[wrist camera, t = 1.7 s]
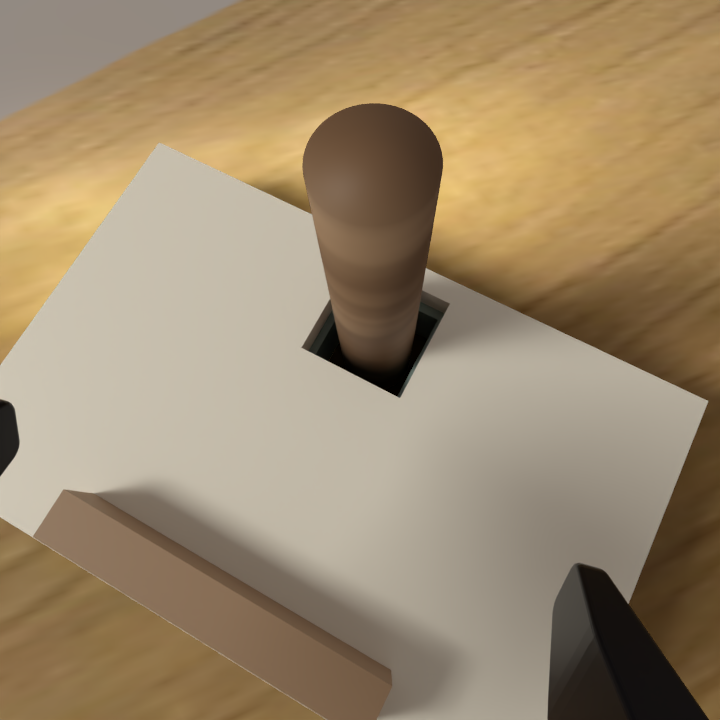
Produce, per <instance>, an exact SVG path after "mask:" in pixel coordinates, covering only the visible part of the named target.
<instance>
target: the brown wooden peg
mask: <svg viewBox="0 0 720 720" xmlns="http://www.w3.org/2000/svg"><path fill="white" fill-rule="evenodd" d="M442 169H443V158H442V151H441V148H440V145H439V142H438V140H437V138H436V136H435V135H434V133H433V132H432V130H431V129H430V128H429V127H428V126H427V125H426V123H424V122H423V121H422V120H421V119H420V118H418V117H417V116H415V115H414V114H412V113H410V112H408V111H406V110H404V109H402V108H399V107H396V106H392V105H387V104H361V105H356V106H352V107H349V108H346V109H343V110H341V111H339V112H337V113H335V114H334V115H332V116H330V117H329V118H328V119H326V120H325V121H324V122H323V123H322V124H321V125H320V126H319V127H318V128H317V129H316V130H315V132H314V133H313V134H312V136H311V137H310V139H309V141H308V143H307V146H306V148H305V152H304V156H303V175H304V180H305V184H306V189H307V194H308V198H309V203H310V208H311V212H312V217H313V221H314V226H315V231H316V235H317V240H318V244H319V249H320V254H321V258H322V263H323V268H324V272H325V277H326V281H327V286H328V291H329V295H330V300H331V304H332V309H333V314H334V318H335V323H336V328H337V332H338V337H339V341H340V346H341V351H342V355H343V360H344V364H345V368H346V371H348V372H350V373H352V374H354V375H356V376H358V377H360V378H362V379H364V380H365V381H367V382H369V383H371V384H373V385H375V386H377V387H379V388H381V389H387V388H390V387H392V386H394V385H396V384H397V383H398V382H399V381H401V380H402V378H403V377H404V376H405V374H406V373H407V370H408V368H409V364H410V358H411V352H412V347H413V341H414V335H415V329H416V323H417V317H418V311H419V305H420V300H421V294H422V288H423V282H424V276H425V270H426V264H427V258H428V253H429V247H430V241H431V235H432V229H433V223H434V217H435V211H436V206H437V200H438V194H439V188H440V182H441V176H442Z"/></svg>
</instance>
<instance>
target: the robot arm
mask: <svg viewBox="0 0 720 720" xmlns="http://www.w3.org/2000/svg"><path fill="white" fill-rule="evenodd" d="M19 445H20V439H19V432H18V426H17V419H16V412H15V408H14V406H13V405H12V403H10V402H9V401H6V400H2V399H0V476H1V475H2V474H3V472H4V471H5V470H6V468H7V467H8V466H9V464H10V463H11V462H12V460H13V459H14V458H15V456H16V454H17V452H18V449H19ZM547 720H709V719H708V718H707V716H706V715H705V713H704V712H703V710H702V709H701V708H700V706H699V705H698V703H697V702H696V700H695V699H694V697H693V696H692V695H691V693H690V692H689V690H688V689H687V687H686V686H685V685H684V683H683V682H682V680H681V679H680V677H679V676H678V674H677V673H676V672H675V670H674V669H673V667H672V666H671V664H670V663H669V661H668V660H667V659H666V657H665V656H664V654H663V653H662V651H661V650H660V649H659V647H658V646H657V644H656V643H655V641H654V640H653V638H652V637H651V636H650V634H649V633H648V631H647V630H646V628H645V627H644V626H643V624H642V623H641V621H640V620H639V618H638V617H637V615H636V614H635V613H634V611H633V610H632V608H631V607H630V605H629V604H628V602H627V601H626V600H625V598H624V597H623V595H622V594H621V592H620V591H619V590H618V588H617V587H616V585H615V584H614V582H613V581H612V579H611V578H610V577H609V575H608V574H607V573H606V572H605V571H604V570H603V569H600V568H597V567H594V566H590V565H587V564H583V563H575V564H574V565H573V566H572V567H571V569H570V571H569V573H568V575H567V577H566V579H565V581H564V583H563V585H562V587H561V589H560V591H559V593H558V595H557V597H556V599H555V602H554V607H553V613H552V631H551V650H550V670H549V689H548V714H547Z"/></svg>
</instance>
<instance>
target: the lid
mask: <svg viewBox="0 0 720 720" xmlns="http://www.w3.org/2000/svg"><path fill="white" fill-rule="evenodd" d="M420 302H422V303H424V304H426V305H428V306H430V307H432V308H434V309H436V310H439V311H441V312H443V313H445V314H444V316H443V318H442V320H441V322H440V323H439V325H438V327H437V329H436V331H435V333H434V335H433V337H432V339H431V340H430V342H429V344H428V346H427V348H426V350H425V352H424V354H423V356H422V358H421V359H420V361H419V363H418V365H417V367H416V369H415V371H414V373H413V375H412V376H411V378H410V380H409V382H408V384H407V386H406V388H405V390H404V392H403V393H402V395H401V397H400V398H399V397H397V396H395V395H393V394H391V393H389V392H387V391H385V390H383V389H381V388H379V387H377V386H375V385H373V384H371V383H369V382H367V381H365V380H364V379H362V378H360V377H358V376H356V375H354V374H352V373H350V372H348V371H346V370H344V369H342V368H340V367H338V366H336V365H334V364H332V363H330V362H328V361H326V360H325V359H323V358H321V357H319V356H317V355H315V354H313V353H311V352H309V349H310V347H311V346H312V344H313V342H314V340H315V339H316V337H317V335H318V334H319V332H320V330H321V328H322V327H323V325H324V323H325V322H326V320H327V318H328V316H329V315H330V313H331V311H332V304H331V300H330V295H329V291H328V286H327V281H326V277H325V272H324V268H323V263H322V258H321V254H320V249H319V244H318V240H317V235H316V231H315V226H314V221H313V217H312V214H310V213H308V212H306V211H303V210H301V209H299V208H297V207H295V206H293V205H291V204H289V203H286V202H284V201H282V200H280V199H278V198H276V197H274V196H272V195H269V194H267V193H265V192H263V191H261V190H259V189H257V188H255V187H252V186H250V185H248V184H246V183H244V182H242V181H240V180H238V179H235V178H233V177H231V176H229V175H227V174H225V173H223V172H221V171H218V170H216V169H214V168H212V167H210V166H208V165H206V164H204V163H202V162H199V161H197V160H195V159H193V158H191V157H189V156H187V155H185V154H182V153H180V152H178V151H176V150H174V149H172V148H170V147H168V146H165V145H163V144H161V143H158V145H157V146H156V148H155V149H154V150H153V152H152V153H151V155H150V156H149V157H148V159H147V160H146V162H145V163H144V165H143V166H142V167H141V169H140V170H139V172H138V173H137V174H136V176H135V177H134V179H133V180H132V181H131V183H130V184H129V186H128V187H127V188H126V190H125V191H124V193H123V194H122V195H121V197H120V198H119V200H118V201H117V202H116V204H115V205H114V207H113V208H112V209H111V211H110V212H109V214H108V215H107V216H106V218H105V219H104V221H103V222H102V223H101V225H100V226H99V228H98V229H97V230H96V232H95V233H94V235H93V236H92V237H91V239H90V240H89V242H88V243H87V244H86V246H85V247H84V249H83V250H82V251H81V253H80V254H79V256H78V257H77V258H76V260H75V261H74V263H73V264H72V265H71V267H70V268H69V270H68V271H67V272H66V274H65V275H64V277H63V278H62V279H61V281H60V282H59V284H58V285H57V287H56V288H55V289H54V291H53V292H52V294H51V295H50V296H49V298H48V299H47V301H46V302H45V303H44V305H43V306H42V308H41V309H40V310H39V312H38V313H37V315H36V316H35V317H34V319H33V320H32V322H31V323H30V324H29V326H28V327H27V329H26V330H25V331H24V333H23V334H22V336H21V337H20V338H19V340H18V341H17V343H16V344H15V345H14V347H13V348H12V350H11V351H10V352H9V354H8V355H7V357H6V358H5V359H4V361H3V362H2V364H1V365H0V399H2V400H6V401H9V402H10V403H12V405H13V406H14V408H15V412H16V419H17V426H18V432H19V439H20V445H19V449H18V452H17V454H16V456H15V458H14V459H13V460H12V462H11V463H10V464H9V466H8V467H7V468H6V470H5V471H4V472H3V474H2V475H1V476H0V517H1V518H2V519H4V520H6V521H7V522H9V523H10V524H12V525H14V526H15V527H17V528H19V529H20V530H22V531H23V532H25V533H27V534H28V535H30V536H31V537H33V538H35V539H36V540H38V541H39V542H41V543H43V544H44V545H46V546H48V547H49V548H51V549H52V550H54V551H56V552H57V553H59V554H60V555H62V556H64V557H65V558H67V559H68V560H70V561H72V562H73V563H75V564H77V565H78V566H80V567H81V568H83V569H85V570H86V571H88V572H89V573H91V574H93V575H94V576H96V577H97V578H99V579H101V580H102V581H104V582H106V583H107V584H109V585H110V586H112V587H114V588H115V589H117V590H118V591H120V592H122V593H123V594H125V595H126V596H128V597H130V598H131V599H133V600H135V601H136V602H138V603H139V604H141V605H143V606H144V607H146V608H147V609H149V610H151V611H152V612H154V613H155V614H157V615H159V616H160V617H162V618H164V619H165V620H167V621H168V622H170V623H172V624H173V625H175V626H176V627H178V628H180V629H181V630H183V631H184V632H186V633H188V634H189V635H191V636H193V637H194V638H196V639H197V640H199V641H201V642H202V643H204V644H205V645H207V646H209V647H210V648H212V649H213V650H215V651H217V652H218V653H220V654H221V655H223V656H225V657H226V658H228V659H230V660H231V661H233V662H234V663H236V664H238V665H239V666H241V667H242V668H244V669H246V670H247V671H249V672H250V673H252V674H254V675H255V676H257V677H259V678H260V679H262V680H263V681H265V682H267V683H268V684H270V685H271V686H273V687H275V688H276V689H278V690H279V691H281V692H283V693H284V694H286V695H288V696H289V697H291V698H292V699H294V700H296V701H297V702H299V703H300V704H302V705H304V706H305V707H307V708H308V709H310V710H312V711H313V712H315V713H317V714H318V715H320V716H321V717H323V718H325V719H326V720H547V714H548V689H549V670H550V650H551V631H552V613H553V607H554V602H555V599H556V597H557V595H558V593H559V591H560V589H561V587H562V585H563V583H564V581H565V579H566V577H567V575H568V573H569V571H570V569H571V567H572V566H573V565H574V564H575V563H583V564H587V565H590V566H594V567H597V568H600V569H603V570H604V571H605V572H606V573H607V574H608V575H609V577H610V578H611V579H612V581H613V582H614V584H615V585H616V587H617V588H618V590H619V591H620V592H621V594H622V595H623V597H624V598H625V600H626V601H627V602H628V604H629V601H630V599H631V596H632V594H633V591H634V589H635V586H636V584H637V581H638V579H639V576H640V574H641V571H642V568H643V566H644V563H645V561H646V558H647V556H648V553H649V551H650V548H651V546H652V543H653V541H654V538H655V535H656V533H657V530H658V528H659V525H660V523H661V520H662V518H663V515H664V513H665V510H666V508H667V505H668V502H669V500H670V497H671V495H672V492H673V490H674V487H675V485H676V482H677V480H678V477H679V475H680V472H681V469H682V467H683V464H684V462H685V459H686V457H687V454H688V452H689V449H690V447H691V444H692V442H693V439H694V436H695V434H696V431H697V429H698V426H699V424H700V421H701V419H702V416H703V414H704V411H705V408H706V406H707V403H708V401H707V400H705V399H703V398H701V397H698V396H696V395H694V394H692V393H690V392H688V391H686V390H684V389H681V388H679V387H677V386H675V385H673V384H671V383H669V382H667V381H664V380H662V379H660V378H658V377H656V376H654V375H652V374H650V373H648V372H645V371H643V370H641V369H639V368H637V367H635V366H633V365H631V364H628V363H626V362H624V361H622V360H620V359H618V358H616V357H614V356H611V355H609V354H607V353H605V352H603V351H601V350H599V349H597V348H594V347H592V346H590V345H588V344H586V343H584V342H582V341H580V340H577V339H575V338H573V337H571V336H569V335H567V334H565V333H563V332H560V331H558V330H556V329H554V328H552V327H550V326H548V325H546V324H543V323H541V322H539V321H537V320H535V319H533V318H531V317H529V316H526V315H524V314H522V313H520V312H518V311H516V310H514V309H512V308H509V307H507V306H505V305H503V304H501V303H499V302H497V301H495V300H492V299H490V298H488V297H486V296H484V295H482V294H480V293H478V292H475V291H473V290H471V289H469V288H467V287H465V286H463V285H461V284H458V283H456V282H454V281H452V280H450V279H448V278H446V277H444V276H441V275H439V274H437V273H435V272H433V271H431V270H429V269H427V268H426V270H425V276H424V282H423V288H422V294H421V300H420Z"/></svg>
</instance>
